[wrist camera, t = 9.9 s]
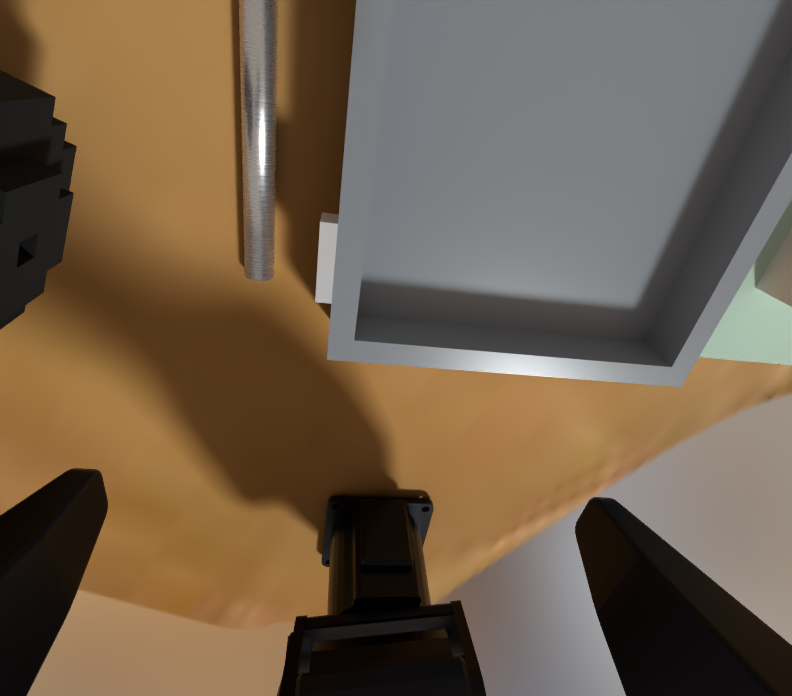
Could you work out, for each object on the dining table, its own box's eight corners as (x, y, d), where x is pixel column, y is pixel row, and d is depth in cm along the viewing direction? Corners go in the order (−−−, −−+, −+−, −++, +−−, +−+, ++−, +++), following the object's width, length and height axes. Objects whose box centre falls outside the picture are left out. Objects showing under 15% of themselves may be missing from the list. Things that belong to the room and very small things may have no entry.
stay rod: (277, 279, 19) (249, 281, 18) (269, 268, 20) (241, 270, 19) (286, -211, 12) (240, -234, 11) (272, -195, 13) (228, -216, 12)
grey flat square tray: (639, 348, 23) (681, 386, 20) (317, 318, 21) (311, 358, 18) (883, -138, 14) (1021, -193, 11) (356, -295, 12) (359, -420, 9)
